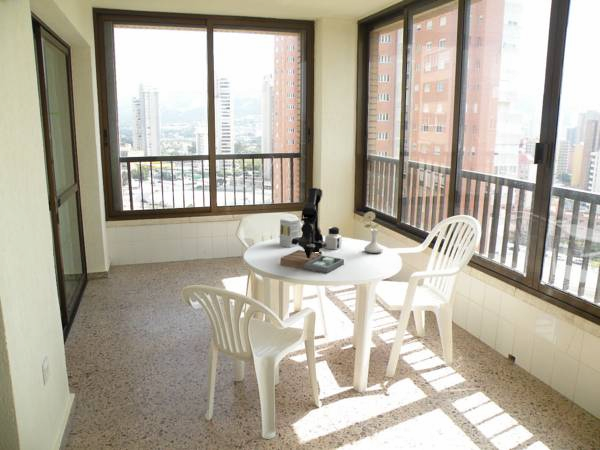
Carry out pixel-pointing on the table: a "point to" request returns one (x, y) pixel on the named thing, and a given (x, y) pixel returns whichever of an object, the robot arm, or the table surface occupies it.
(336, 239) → the container
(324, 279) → the table surface
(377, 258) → the table surface
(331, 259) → the tile
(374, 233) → the flower in vase
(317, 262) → the tile
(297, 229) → the supplement box
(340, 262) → the box
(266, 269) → the table surface
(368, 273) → the table surface
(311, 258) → the tan bevelled block
